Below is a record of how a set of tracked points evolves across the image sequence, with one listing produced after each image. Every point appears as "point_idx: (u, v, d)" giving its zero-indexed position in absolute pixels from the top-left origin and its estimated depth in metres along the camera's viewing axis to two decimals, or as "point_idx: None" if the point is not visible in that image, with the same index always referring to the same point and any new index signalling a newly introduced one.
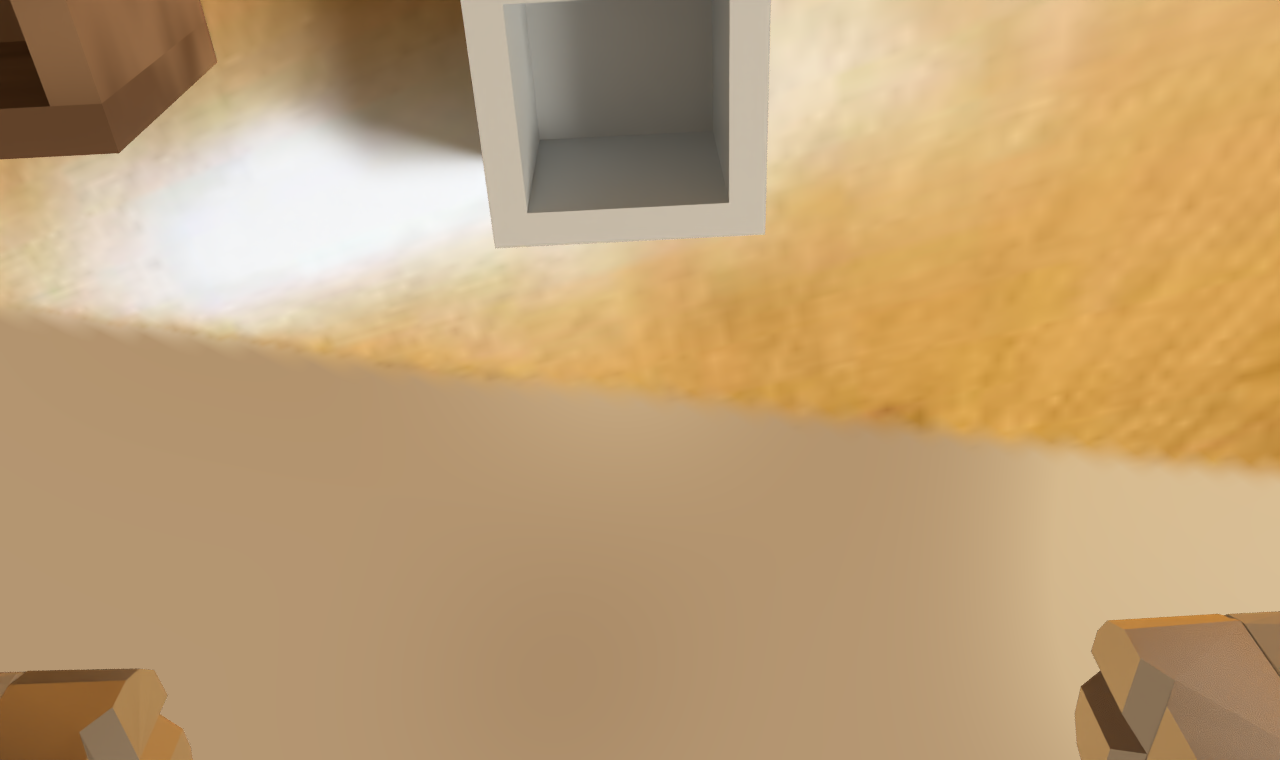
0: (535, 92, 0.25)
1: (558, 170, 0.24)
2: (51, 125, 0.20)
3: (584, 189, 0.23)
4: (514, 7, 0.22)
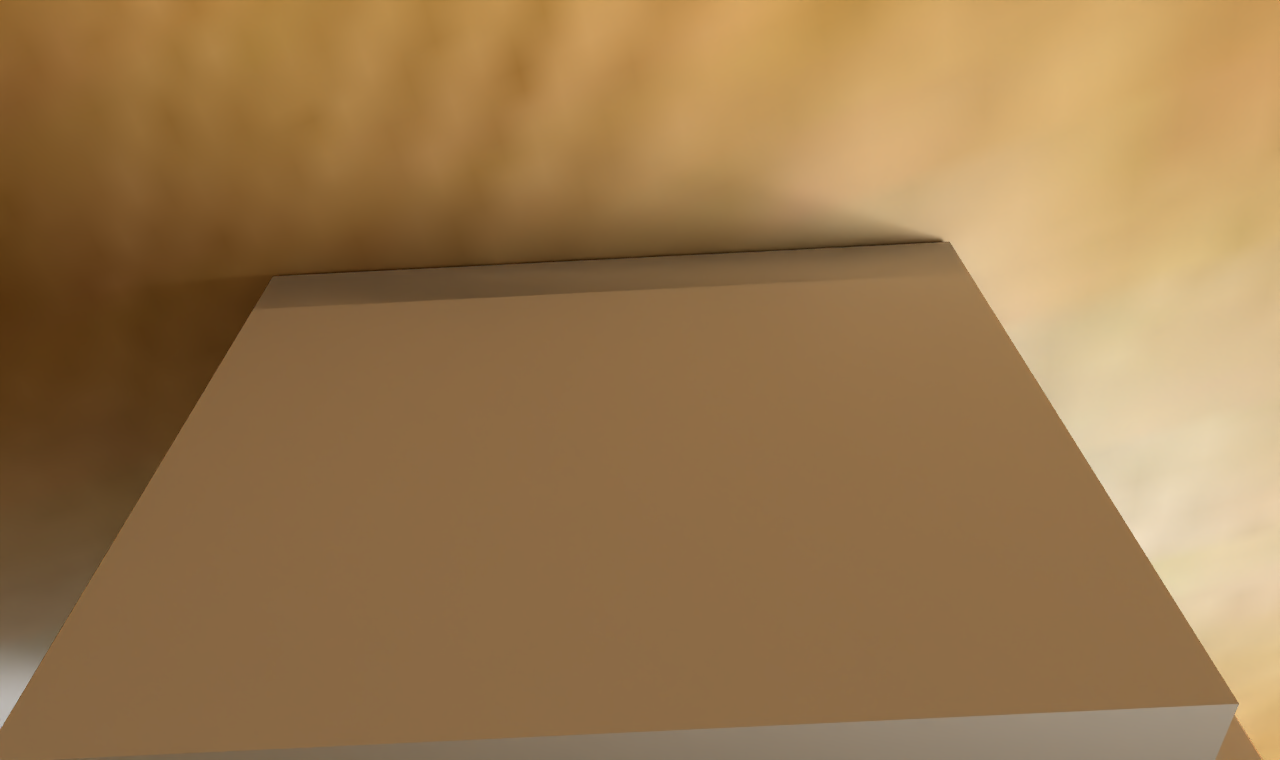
0: None
1: None
2: None
3: None
4: None
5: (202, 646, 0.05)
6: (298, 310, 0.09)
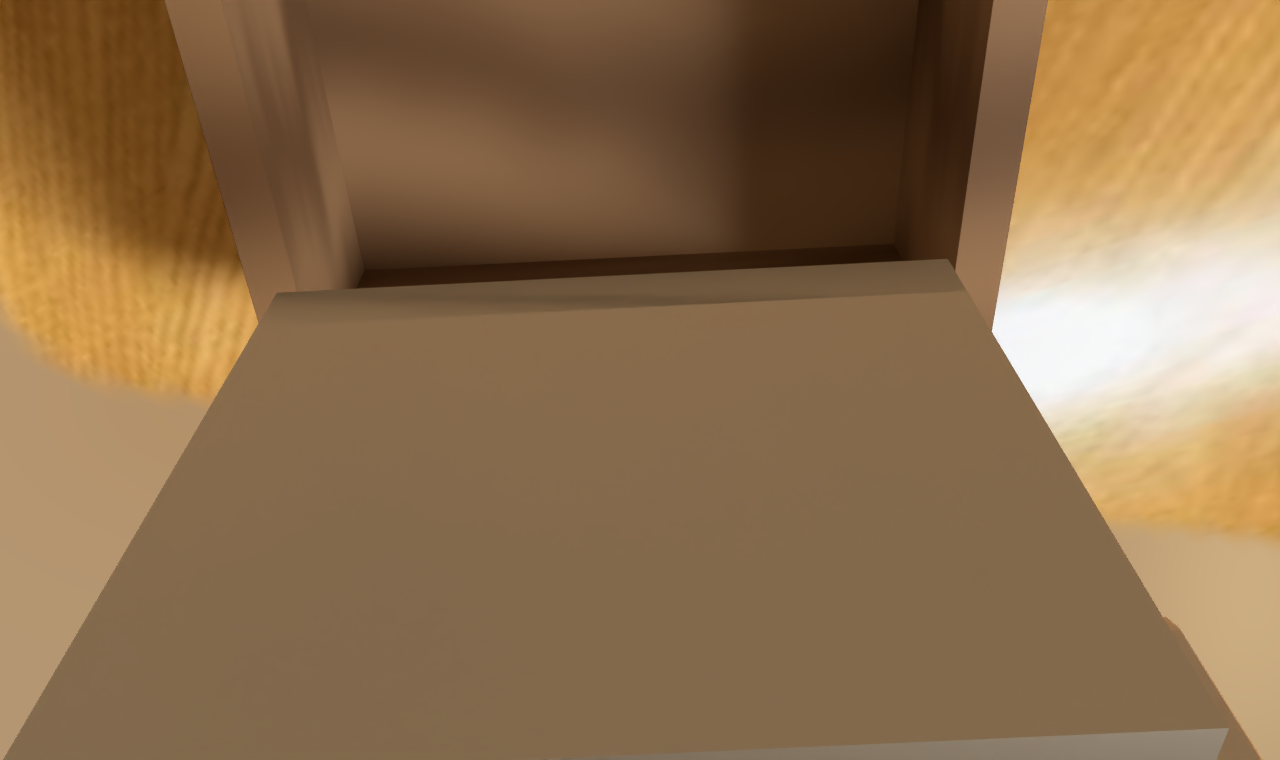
0: None
1: None
2: None
3: None
4: None
5: (205, 666, 0.06)
6: (302, 325, 0.09)
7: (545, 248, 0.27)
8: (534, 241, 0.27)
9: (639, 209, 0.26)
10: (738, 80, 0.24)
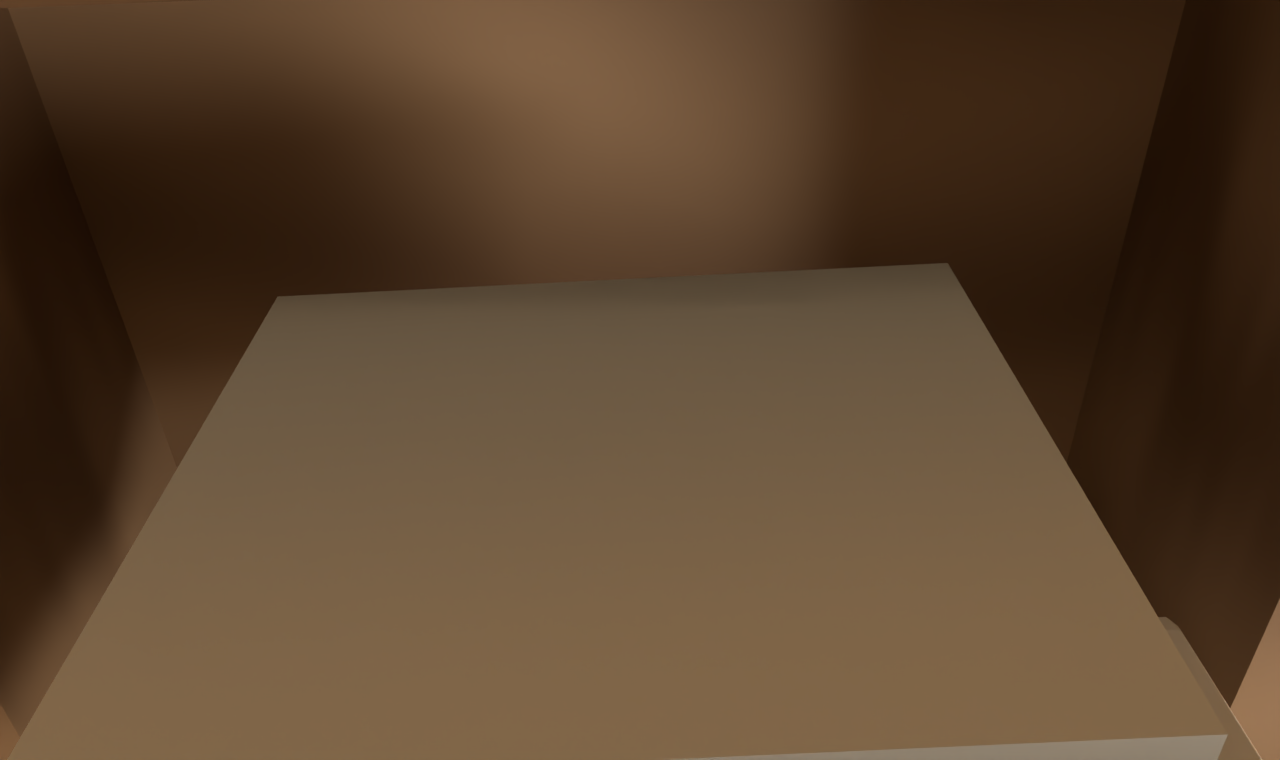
0: None
1: None
2: None
3: None
4: None
5: (206, 673, 0.06)
6: (303, 330, 0.09)
7: None
8: None
9: None
10: None
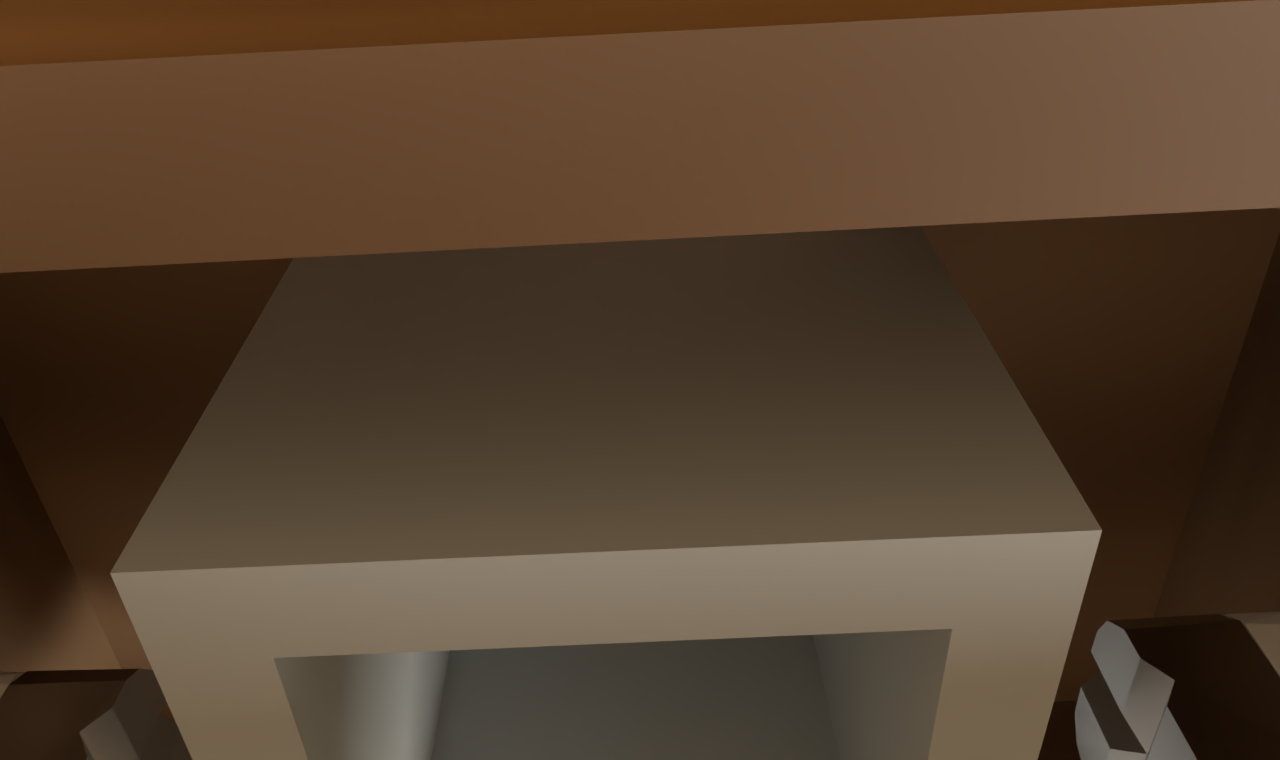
0: None
1: None
2: None
3: None
4: None
5: (277, 493, 0.07)
6: None
7: None
8: None
9: None
10: None
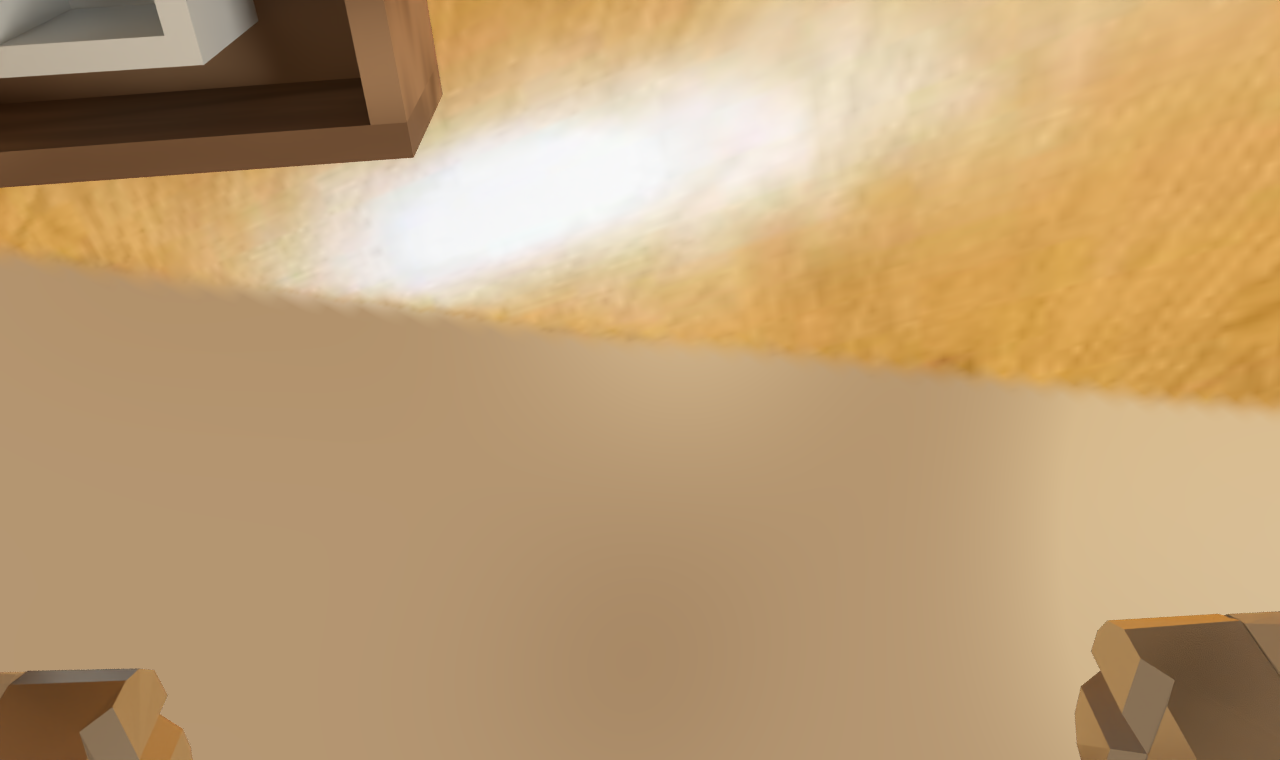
0: None
1: (58, 24, 0.28)
2: (369, 138, 0.28)
3: (62, 33, 0.27)
4: None
5: None
6: None
7: (108, 84, 0.32)
8: (98, 77, 0.32)
9: None
10: None
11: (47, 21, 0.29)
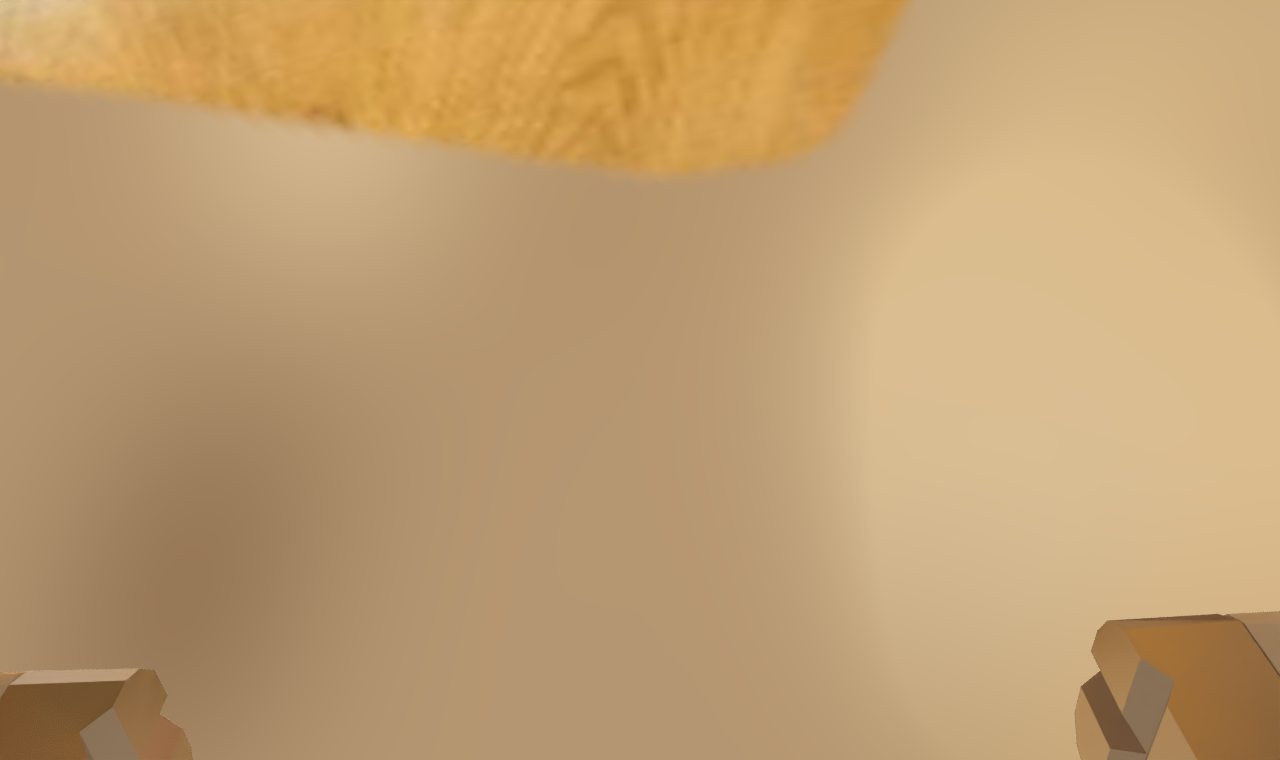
0: None
1: None
2: None
3: None
4: None
5: None
6: None
7: None
8: None
9: None
10: None
11: None
